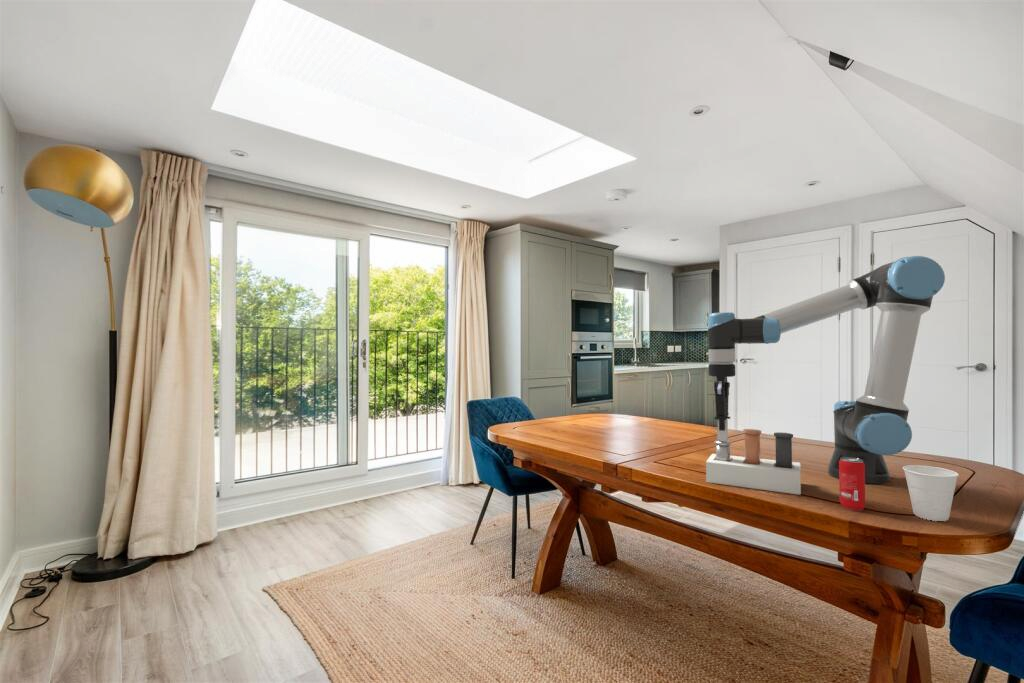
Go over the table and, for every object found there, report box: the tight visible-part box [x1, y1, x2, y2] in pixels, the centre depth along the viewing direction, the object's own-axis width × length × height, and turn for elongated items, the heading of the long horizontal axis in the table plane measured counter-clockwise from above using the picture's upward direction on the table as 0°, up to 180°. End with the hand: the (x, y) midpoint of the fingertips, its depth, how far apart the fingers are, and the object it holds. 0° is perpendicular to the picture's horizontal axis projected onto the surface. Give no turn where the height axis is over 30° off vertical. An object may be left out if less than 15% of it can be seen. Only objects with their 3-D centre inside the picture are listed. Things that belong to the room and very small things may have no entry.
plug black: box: [773, 432, 794, 469], centre depth 134 cm, size 5×5×10 cm
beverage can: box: [838, 457, 866, 512], centre depth 117 cm, size 5×5×12 cm
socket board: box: [705, 453, 802, 496], centre depth 138 cm, size 24×12×6 cm, turn 58°
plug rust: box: [742, 428, 762, 465], centre depth 138 cm, size 5×5×10 cm
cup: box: [902, 464, 960, 522], centre depth 110 cm, size 10×10×11 cm
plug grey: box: [713, 439, 733, 462], centre depth 142 cm, size 5×5×10 cm
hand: (722, 440), depth 142 cm, fingers closed
